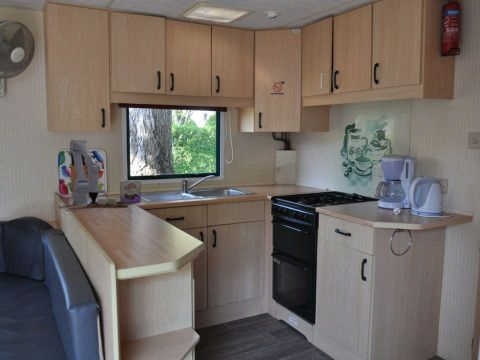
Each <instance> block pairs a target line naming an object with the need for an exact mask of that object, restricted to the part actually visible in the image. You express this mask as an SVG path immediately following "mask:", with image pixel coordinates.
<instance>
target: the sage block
mask: <svg viewBox="0 0 480 360" xmlns="http://www.w3.org/2000/svg"><path fill="white" fill-rule="evenodd" d="M107 202H108V204H116V202H117V197H107Z"/></svg>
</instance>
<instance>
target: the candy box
mask: <svg viewBox="0 0 480 360" xmlns="http://www.w3.org/2000/svg"><path fill="white" fill-rule="evenodd" d="M141 183H142V181H141V180H132V179H131V180H128V179H127V180H123V179H121V180H120V186H119V199H120V200H119V202H129V203H141V198H142V197H141V194H142V193H141V191H142V190H141V188H142V187H141V185H142V184H141Z"/></svg>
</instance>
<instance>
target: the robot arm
mask: <svg viewBox="0 0 480 360" xmlns="http://www.w3.org/2000/svg"><path fill="white" fill-rule="evenodd" d="M69 150H70V154H72V159H73V161H74V162H73V163H74V169H75V175H76V178H75V179H74V181H73V189H74V192H73V193H72V204H74V205H77V204H78V205H86V204H89V197H90V199H91V202H92V204H95V202H97V199H98V198H97V197H98V195H99V194H106V193H107V192H106V189H99V174H100V172H101V167H100V165H99V164H98V163H96V161H95V159H94V158H93V156H91V155H90V153H89V149H88V142H87V140H86V139H71V140H70V141H69ZM82 156H83V157H84V160H83V159H82ZM83 161H84V163H85V165H86V167H87V169H86V171H87V176H88V178H87V177H86V175H85V170H84V165H83Z"/></svg>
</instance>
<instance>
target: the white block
mask: <svg viewBox="0 0 480 360" xmlns="http://www.w3.org/2000/svg"><path fill="white" fill-rule="evenodd" d="M97 202H98V204H107V202H108V197H98V198H97Z"/></svg>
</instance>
